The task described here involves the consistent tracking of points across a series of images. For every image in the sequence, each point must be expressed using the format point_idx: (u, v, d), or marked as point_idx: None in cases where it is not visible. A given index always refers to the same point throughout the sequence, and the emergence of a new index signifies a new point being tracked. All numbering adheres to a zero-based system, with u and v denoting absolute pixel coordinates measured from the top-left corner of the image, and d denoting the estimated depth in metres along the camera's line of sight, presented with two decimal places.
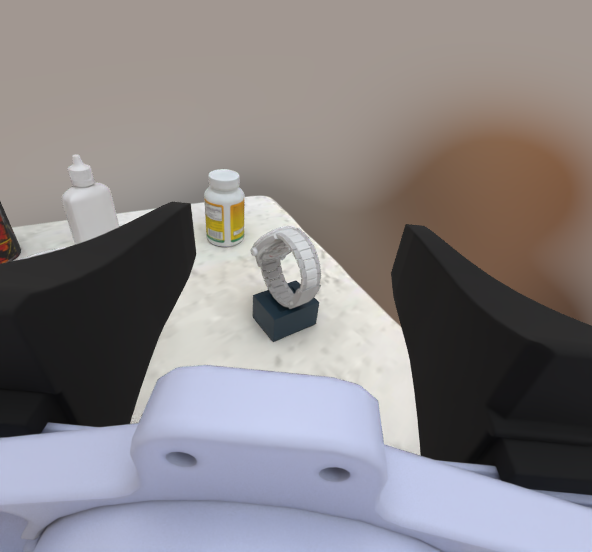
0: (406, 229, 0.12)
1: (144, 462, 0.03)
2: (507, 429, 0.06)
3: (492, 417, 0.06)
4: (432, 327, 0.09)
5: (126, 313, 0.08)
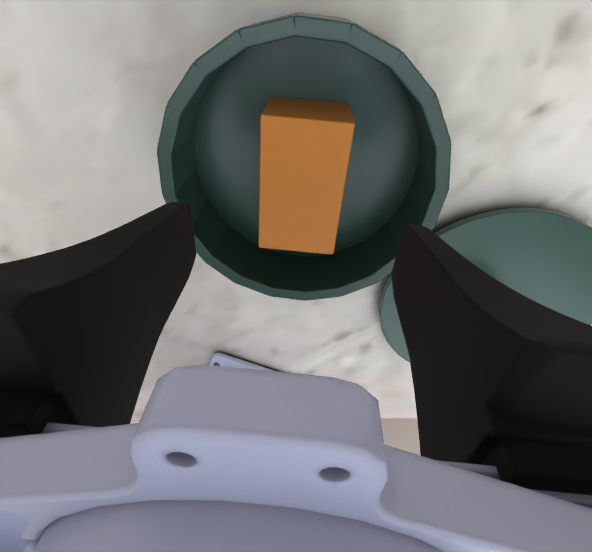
0: (406, 229, 0.11)
1: (144, 462, 0.03)
2: (507, 429, 0.06)
3: (492, 417, 0.06)
4: (432, 327, 0.09)
5: (126, 313, 0.08)
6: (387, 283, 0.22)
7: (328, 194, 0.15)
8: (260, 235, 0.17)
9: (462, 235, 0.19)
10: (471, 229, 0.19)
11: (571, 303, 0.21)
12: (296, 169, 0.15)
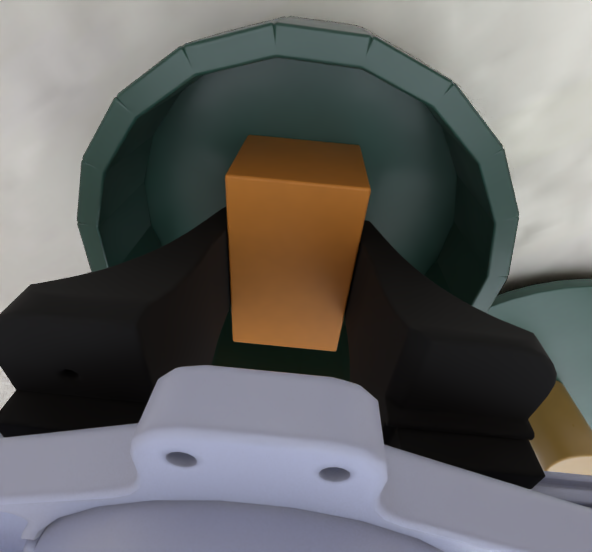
0: None
1: (144, 462, 0.03)
2: (401, 419, 0.06)
3: (390, 407, 0.06)
4: (362, 320, 0.09)
5: (199, 320, 0.08)
6: None
7: (330, 280, 0.11)
8: (234, 328, 0.12)
9: (508, 312, 0.14)
10: (522, 306, 0.14)
11: None
12: (281, 249, 0.10)
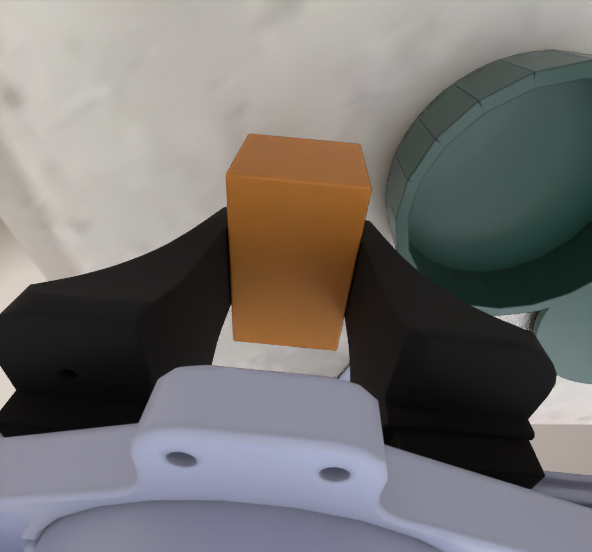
0: None
1: (144, 462, 0.03)
2: (401, 419, 0.06)
3: (390, 407, 0.06)
4: (362, 320, 0.09)
5: (199, 320, 0.08)
6: None
7: (331, 279, 0.10)
8: (234, 327, 0.12)
9: None
10: None
11: None
12: (282, 248, 0.10)
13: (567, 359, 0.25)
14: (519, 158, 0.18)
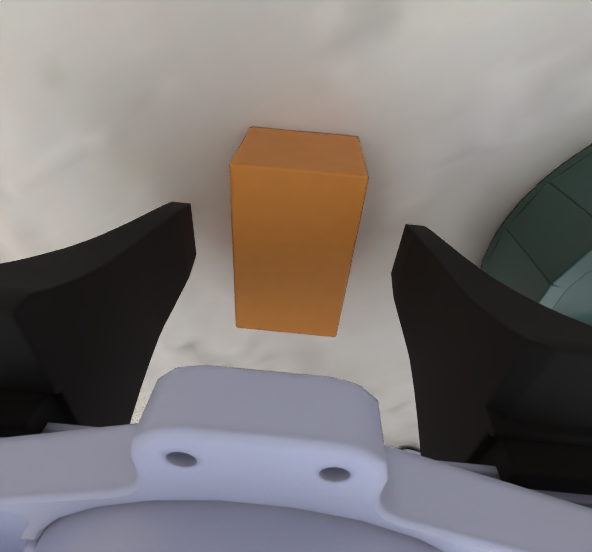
0: (406, 229, 0.12)
1: (144, 462, 0.03)
2: (507, 429, 0.06)
3: (492, 417, 0.06)
4: (432, 327, 0.09)
5: (126, 313, 0.08)
6: None
7: (329, 266, 0.11)
8: (237, 314, 0.12)
9: None
10: None
11: None
12: (283, 235, 0.10)
13: None
14: None
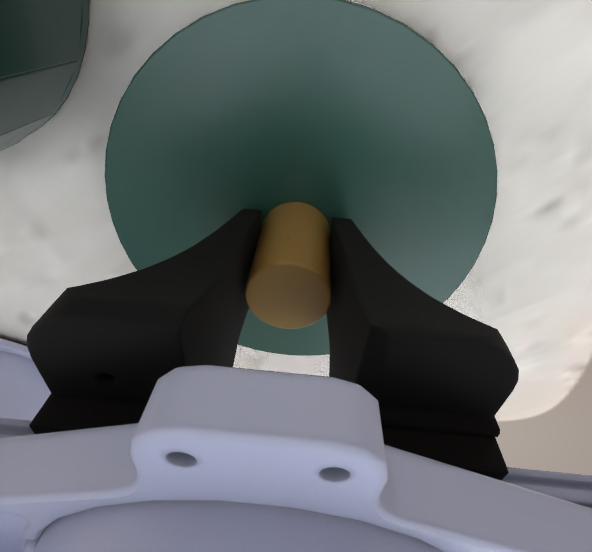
0: (332, 222, 0.12)
1: (144, 462, 0.03)
2: None
3: None
4: (339, 318, 0.09)
5: (225, 323, 0.08)
6: None
7: None
8: None
9: (182, 64, 0.10)
10: (194, 48, 0.10)
11: (431, 218, 0.12)
12: None
13: None
14: None
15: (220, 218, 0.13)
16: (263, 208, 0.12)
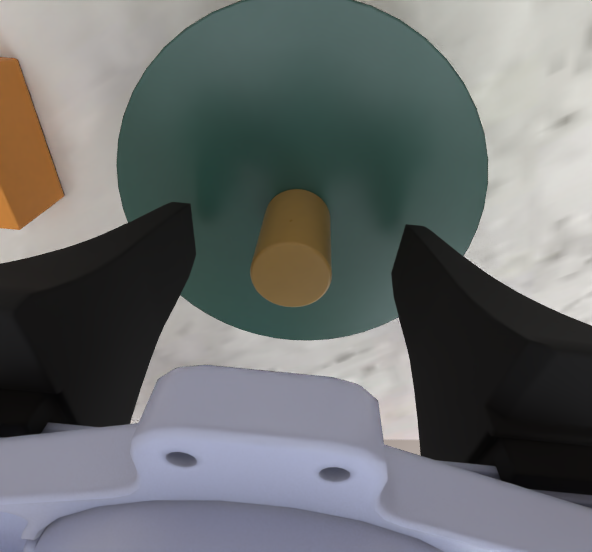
0: (406, 229, 0.12)
1: (144, 462, 0.03)
2: (507, 429, 0.06)
3: (492, 417, 0.06)
4: (432, 327, 0.09)
5: (126, 313, 0.08)
6: None
7: None
8: None
9: (191, 57, 0.10)
10: (202, 42, 0.10)
11: (426, 205, 0.13)
12: None
13: (221, 295, 0.16)
14: None
15: (225, 205, 0.13)
16: (266, 195, 0.13)
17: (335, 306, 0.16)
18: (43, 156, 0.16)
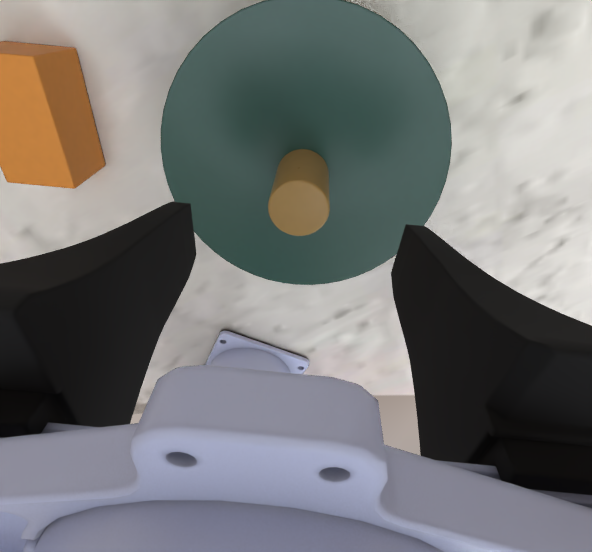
0: (406, 229, 0.12)
1: (144, 462, 0.03)
2: (507, 429, 0.06)
3: (492, 417, 0.06)
4: (432, 327, 0.09)
5: (126, 313, 0.08)
6: None
7: (42, 126, 0.17)
8: (2, 169, 0.18)
9: (224, 43, 0.14)
10: (233, 32, 0.14)
11: (404, 162, 0.16)
12: (2, 102, 0.16)
13: (239, 243, 0.19)
14: None
15: (245, 164, 0.17)
16: (278, 155, 0.16)
17: (333, 252, 0.19)
18: (91, 129, 0.20)
